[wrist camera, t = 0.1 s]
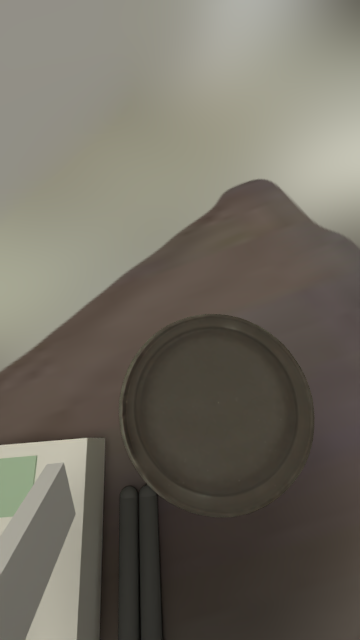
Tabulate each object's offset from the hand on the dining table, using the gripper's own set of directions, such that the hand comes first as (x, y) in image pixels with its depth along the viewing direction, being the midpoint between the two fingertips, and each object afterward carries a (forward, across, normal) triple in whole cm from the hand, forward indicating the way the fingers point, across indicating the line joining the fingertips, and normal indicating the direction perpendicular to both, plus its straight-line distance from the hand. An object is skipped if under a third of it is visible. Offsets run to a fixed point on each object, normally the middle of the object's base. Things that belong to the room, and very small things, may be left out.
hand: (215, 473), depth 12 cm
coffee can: (+14, 0, +6) cm, 16 cm away
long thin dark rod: (+6, +7, +18) cm, 20 cm away
